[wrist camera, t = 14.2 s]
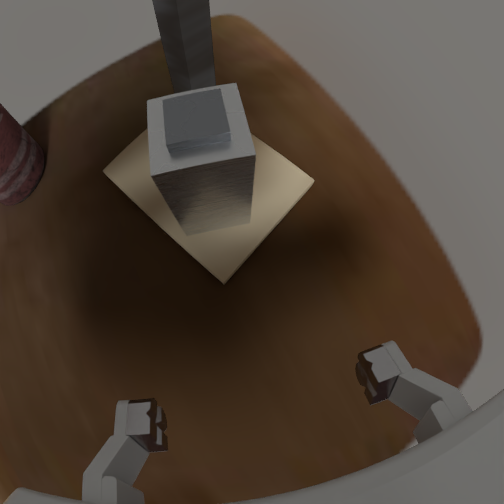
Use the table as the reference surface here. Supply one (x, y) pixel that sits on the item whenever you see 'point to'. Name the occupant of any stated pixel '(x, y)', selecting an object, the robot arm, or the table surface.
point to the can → (17, 161)
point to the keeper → (267, 159)
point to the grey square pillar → (202, 157)
